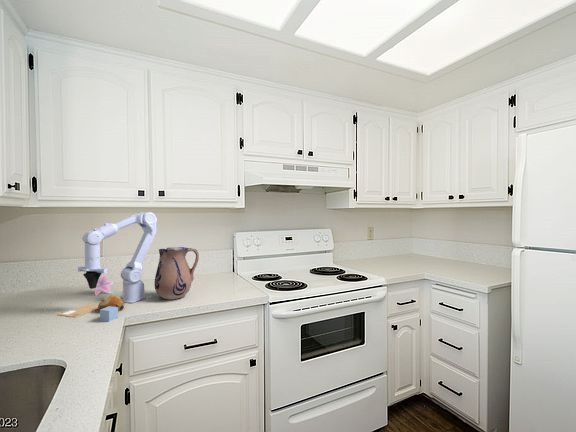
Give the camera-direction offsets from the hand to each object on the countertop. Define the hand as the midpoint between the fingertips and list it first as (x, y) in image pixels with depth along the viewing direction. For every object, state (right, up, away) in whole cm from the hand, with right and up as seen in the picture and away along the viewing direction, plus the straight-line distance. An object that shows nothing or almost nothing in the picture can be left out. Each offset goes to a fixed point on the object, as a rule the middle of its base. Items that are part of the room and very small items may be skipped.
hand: (92, 288), depth 134 cm
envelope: (-3, -10, -1) cm, 10 cm away
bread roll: (+9, -10, -1) cm, 13 cm away
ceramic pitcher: (+31, -9, +19) cm, 37 cm away
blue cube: (+14, -10, -12) cm, 21 cm away
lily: (-12, -9, +25) cm, 30 cm away
